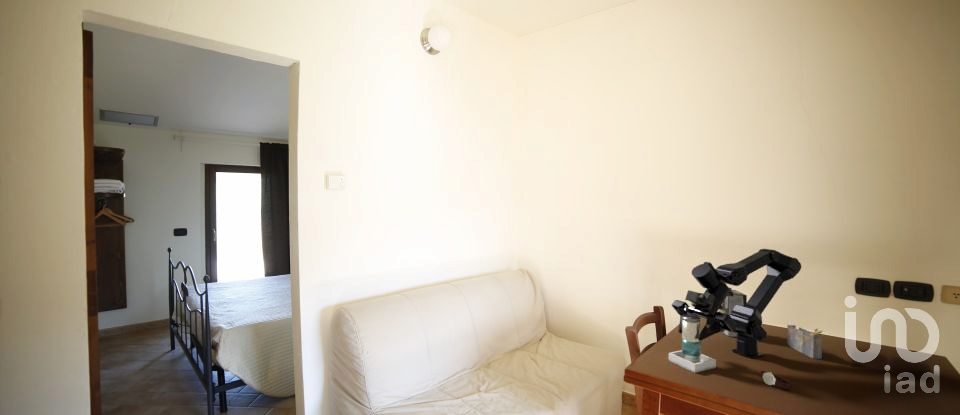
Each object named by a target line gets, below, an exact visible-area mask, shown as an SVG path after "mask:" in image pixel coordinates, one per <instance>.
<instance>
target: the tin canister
mask: <svg viewBox="0 0 960 415" xmlns="http://www.w3.org/2000/svg"><path fill="white" fill-rule="evenodd" d="M681 318H682V333H681V350H682V357H683V359H686V360H688V361H690V362H692V363H699V362H701V354H702V340H701V341H699V340H698V336H699V334H700V333H701V317H699V316H695V315H682V316H681Z"/></svg>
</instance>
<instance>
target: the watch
mask: <svg viewBox="0 0 960 415" xmlns="http://www.w3.org/2000/svg"><path fill="white" fill-rule="evenodd" d="M760 378H762V379H763V382H764V383H765V384H766V385H768V386H772V385H774V386H776V387H779V388H780V389H783V390H789V387H790V382H788V381H787V380H785V379H783V378H781V377H779V376H778V375H775V374H773V373H772V372H771V371H770V372H768V371H764V370H760Z"/></svg>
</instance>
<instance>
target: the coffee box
mask: <svg viewBox="0 0 960 415" xmlns="http://www.w3.org/2000/svg"><path fill="white" fill-rule="evenodd" d="M732 292H733V297H732V296H727V297H726V298H725V300H724V302H723V303H722V307H723V309H722V310H718V312H722V313H725V314H729V315H730V312H731V311H732V310H733V309H734V307H735V306H736V305H740V306H743V305H745V304H746V303H747V302H748V295H747V294H744V293H743V292H740V291H738V290H735V289H732ZM722 333H724V335H726V336H728V337H736V338H737V335H738V334H737V333H734V332H733V333H732V332H729V331H726V330H725V331H724V332H722Z"/></svg>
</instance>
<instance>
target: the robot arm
mask: <svg viewBox="0 0 960 415" xmlns="http://www.w3.org/2000/svg"><path fill="white" fill-rule="evenodd" d="M801 263H802V262H800V261H799V259H798V258H796V257H791V256H788V255H786V254H784V253H782V252H780V251H777V250H776V249H772V248H771V249H769V248H760V249H759V250H758V251H757V252H755V253H752V255H749V256H747V257H745V258H743V259H742V260H740V261H737V262H733V263H732V262H731V263H725V264H722V265H719V266H717V267H716V268H715V267H714V265H713V264H712V262H710V261H704V262H703V263H701V264H698V265H695V267H693V268H692V270H691V275H692V276H693V278H694V279H695V280H696V281H697V283H699V285H700V286H701V287H702V288H704V289H705V290H704V292H697V291H693V290H689V289H688V290H687V293H686V296H685V298H684V299H685V301H683V300H679V299H675V300H674V301H673V302H672V303H671V307H672V308H673V309H674V310H675V311H676V313H677V314H678V315H679V316H680V317H679V324H678V333H679V334H681V335H682V318H681V316H682V315H695V316H698V317H700V318H703V319H706V322H705V325H704V326H703V328H702V329H701V330H700V334H699V336H698V340H699V341H701V342H702V341H703V340H705V339H707V338H709V337H711V336H713V335H715V334H718V333H720V332H722V333H723V332H724V331H725V330H726V331H729V332H732V333H733V332H734V333H737V334H738V335H737V337H736V348H734V349H733V348H732V349H731V351H732V352H734V353H737V354H738V355H741V356H744V357H747V358H750V359H754V358H755V359H756V358H759V357H763V356H764V353H762V352H759V342H760V341H764V340H765V339H767V334H768V333H767V331H766V330H765V329H764V328H763V327H762V324H763V316H762V315H763V314H762V313H763V312H764V311H765V310H766V308H767V307H768V305H769V304H770V303H771V301H772V299H773V298H774V297H775V295H776V294H777V292H778V291H779V289H780V288H781V286H782V285H783V283H785V282H787V281H790V280H793V279H794V278H795V277H796V276H797V275H798V274H799V273H800V271H801V270H802V264H801ZM764 267H766V275H765V276H764V278H763V280H762V281H761V282H760V284H759V285H758V287H756V288H755V291H754V292H753V294H752V295H751V296H750V298H749V299H747V303H746V304H745V305H743V306H740V305H736V306H735V307H734V309H733V310H732V311H731V312H730V315H729V314H725V313H722V312H719V310H722V309H723V307H722V303H723V302H724V300H725V298H726V297H727V296H732V297H733V292H732V290H733V288H732V287H729V286H728V285H730V286H733V287H734V286H735V287H739V286H741V285H743V283H744V282H746V281H747V279H748V276H749V275H750V274H752V273H754V272H756V271H758V270H759V269H762V268H764ZM686 301H689V302H690V305H691V306H692V307H691V306H690V305H689V304H688V303H687V302H686ZM693 307H694V308H693Z"/></svg>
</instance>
